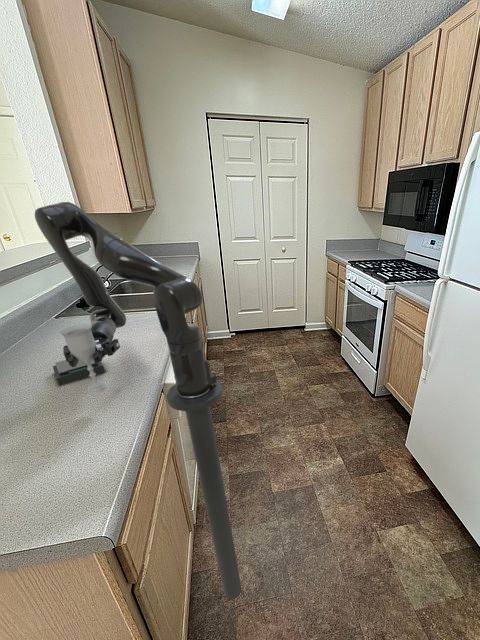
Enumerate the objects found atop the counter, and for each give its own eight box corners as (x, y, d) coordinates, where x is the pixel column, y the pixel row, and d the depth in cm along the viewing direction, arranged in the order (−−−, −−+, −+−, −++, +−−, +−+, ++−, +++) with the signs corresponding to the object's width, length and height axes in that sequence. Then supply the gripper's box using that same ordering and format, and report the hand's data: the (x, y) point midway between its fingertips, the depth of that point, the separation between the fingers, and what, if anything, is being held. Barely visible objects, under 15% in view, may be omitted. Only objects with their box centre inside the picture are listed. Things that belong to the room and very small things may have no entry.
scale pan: (92, 354, 116) (92, 353, 116) (98, 363, 110) (97, 361, 110) (55, 364, 110) (55, 362, 110) (59, 374, 104) (58, 372, 103)
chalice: (91, 384, 93) (69, 324, 85) (116, 382, 94) (96, 322, 86) (78, 398, 87) (53, 335, 79) (105, 396, 88) (83, 333, 79)
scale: (98, 361, 118) (95, 353, 117) (105, 372, 111) (102, 363, 109) (55, 372, 111) (51, 364, 109) (59, 385, 103) (55, 376, 102)
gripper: (66, 328, 94) (45, 353, 80) (121, 322, 98) (111, 344, 84) (75, 352, 98) (56, 379, 83) (127, 344, 102) (119, 370, 87)
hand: (84, 361), depth 84 cm, fingers closed on chalice, 4 cm apart
